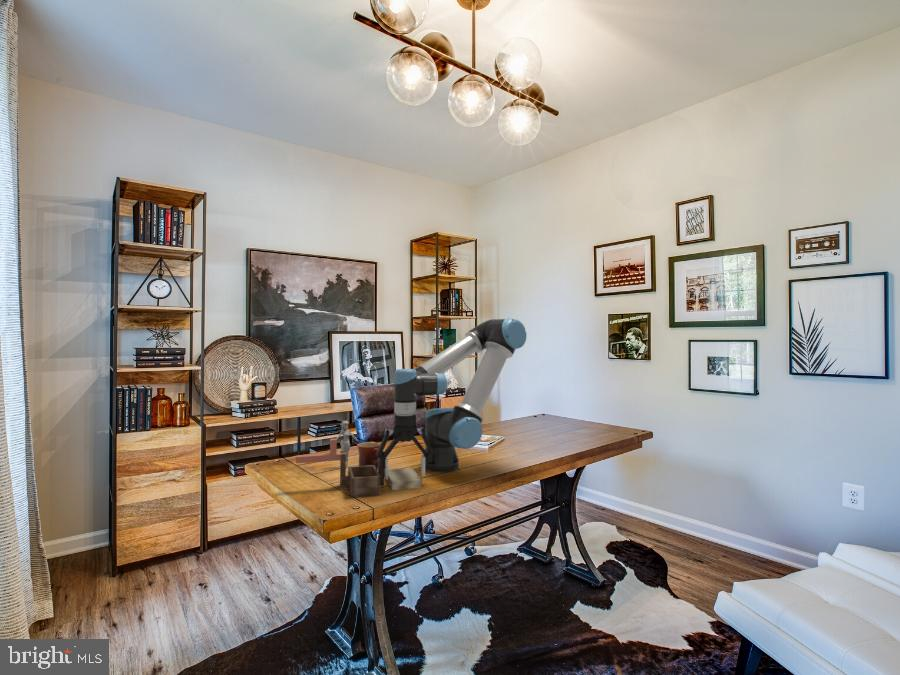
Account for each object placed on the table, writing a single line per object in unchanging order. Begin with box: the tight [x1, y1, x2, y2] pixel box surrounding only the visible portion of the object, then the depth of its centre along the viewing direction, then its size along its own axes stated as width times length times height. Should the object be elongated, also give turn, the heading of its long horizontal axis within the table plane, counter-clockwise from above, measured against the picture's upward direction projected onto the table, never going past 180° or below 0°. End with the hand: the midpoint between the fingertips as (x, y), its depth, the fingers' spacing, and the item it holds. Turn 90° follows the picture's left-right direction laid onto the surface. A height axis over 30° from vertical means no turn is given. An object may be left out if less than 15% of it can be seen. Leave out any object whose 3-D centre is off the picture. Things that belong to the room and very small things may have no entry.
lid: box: [385, 467, 423, 491], centre depth 164 cm, size 10×15×3 cm, turn 17°
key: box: [295, 438, 346, 464], centre depth 156 cm, size 16×2×7 cm, turn 107°
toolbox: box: [339, 450, 385, 498], centre depth 156 cm, size 14×14×12 cm
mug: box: [356, 441, 381, 471], centre depth 175 cm, size 12×9×10 cm
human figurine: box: [335, 420, 359, 469], centre depth 182 cm, size 12×4×18 cm, turn 133°
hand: (404, 476), depth 161 cm, fingers open, 12 cm apart
